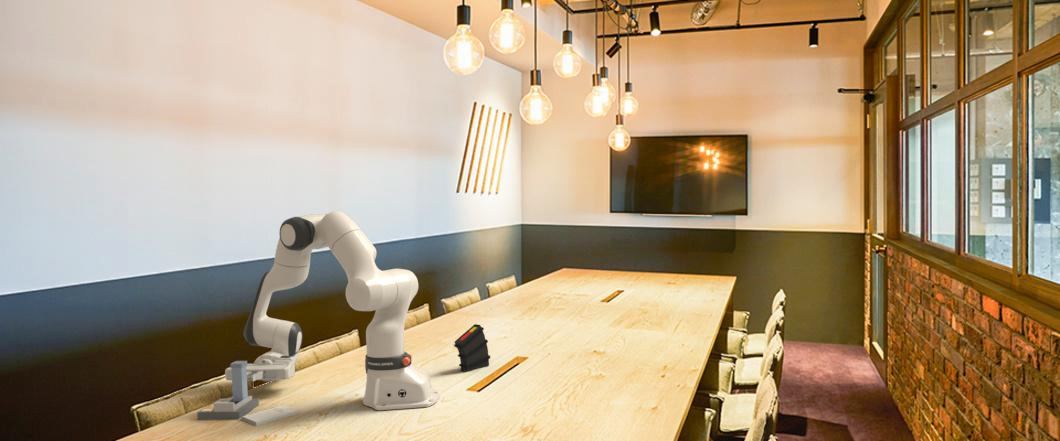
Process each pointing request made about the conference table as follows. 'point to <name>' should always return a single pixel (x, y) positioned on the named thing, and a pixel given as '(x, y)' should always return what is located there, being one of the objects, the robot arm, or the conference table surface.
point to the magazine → (473, 349)
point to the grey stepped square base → (228, 409)
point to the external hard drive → (269, 415)
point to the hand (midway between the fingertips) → (248, 378)
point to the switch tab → (239, 380)
